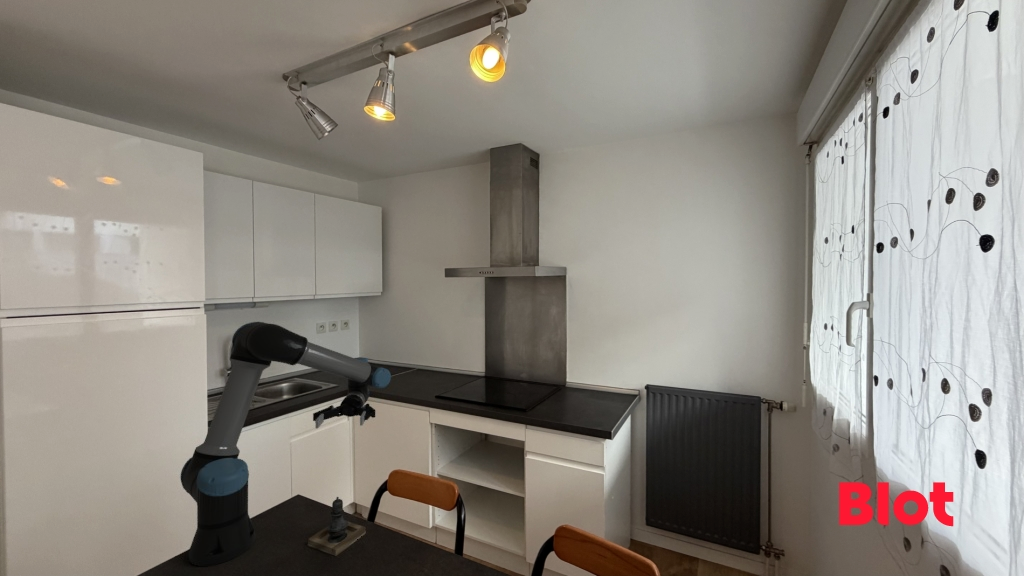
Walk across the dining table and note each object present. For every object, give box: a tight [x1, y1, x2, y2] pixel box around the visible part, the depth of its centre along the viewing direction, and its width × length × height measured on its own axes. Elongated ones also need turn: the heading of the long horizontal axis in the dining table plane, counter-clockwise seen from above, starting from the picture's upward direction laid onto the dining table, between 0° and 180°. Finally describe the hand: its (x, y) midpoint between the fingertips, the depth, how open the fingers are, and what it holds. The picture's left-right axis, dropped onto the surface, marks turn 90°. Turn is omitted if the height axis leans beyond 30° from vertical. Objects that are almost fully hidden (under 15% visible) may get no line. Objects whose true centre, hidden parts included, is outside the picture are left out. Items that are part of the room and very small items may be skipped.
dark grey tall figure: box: [326, 496, 349, 543], centre depth 115 cm, size 6×6×12 cm
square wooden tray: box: [307, 521, 367, 557], centre depth 115 cm, size 11×11×2 cm
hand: (339, 422), depth 127 cm, fingers open, 13 cm apart
